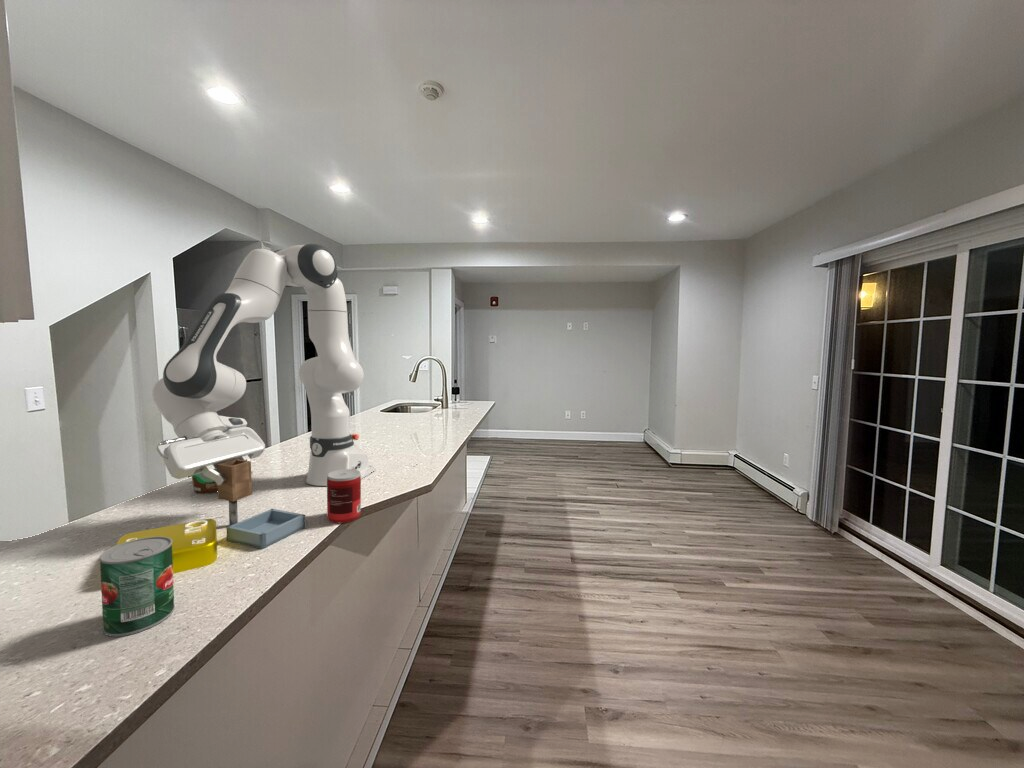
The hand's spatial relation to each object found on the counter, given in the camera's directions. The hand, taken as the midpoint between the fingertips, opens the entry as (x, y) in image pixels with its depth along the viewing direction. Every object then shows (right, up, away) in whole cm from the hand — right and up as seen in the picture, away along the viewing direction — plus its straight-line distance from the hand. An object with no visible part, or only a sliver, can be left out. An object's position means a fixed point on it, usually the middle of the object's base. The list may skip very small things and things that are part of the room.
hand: (236, 478), depth 91 cm
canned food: (+22, -11, +7) cm, 26 cm away
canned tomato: (+7, -14, -31) cm, 35 cm away
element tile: (-3, -13, -14) cm, 19 cm away
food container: (-21, -9, +23) cm, 33 cm away
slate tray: (+9, -12, -3) cm, 15 cm away
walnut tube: (-1, -4, +1) cm, 4 cm away
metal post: (-1, -11, +1) cm, 11 cm away
